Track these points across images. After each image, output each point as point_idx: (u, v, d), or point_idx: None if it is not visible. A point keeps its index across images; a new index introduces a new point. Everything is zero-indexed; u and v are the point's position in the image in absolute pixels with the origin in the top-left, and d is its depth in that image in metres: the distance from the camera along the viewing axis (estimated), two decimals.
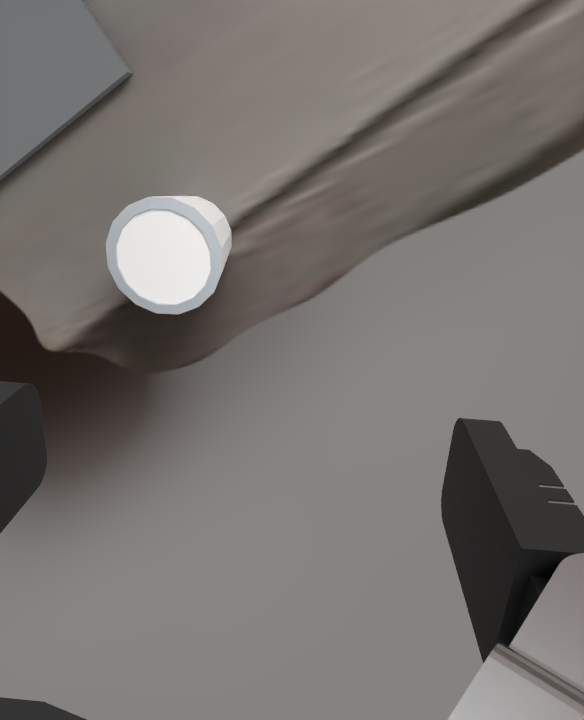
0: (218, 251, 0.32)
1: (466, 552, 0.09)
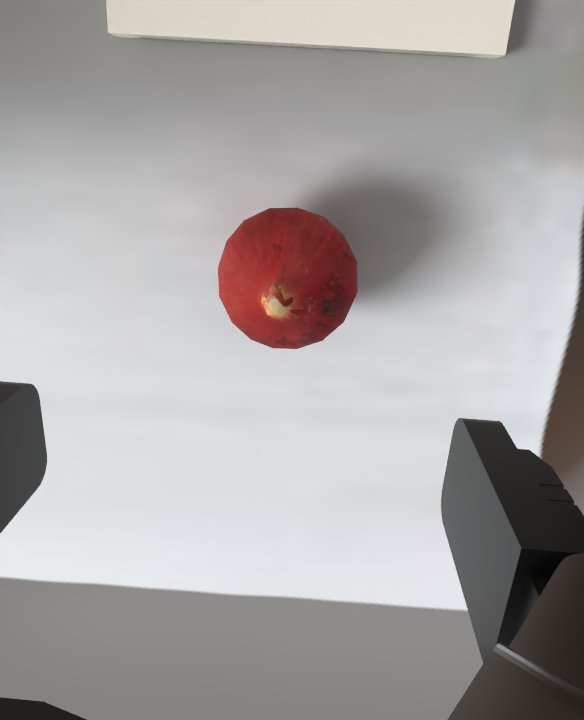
0: None
1: (466, 552, 0.09)
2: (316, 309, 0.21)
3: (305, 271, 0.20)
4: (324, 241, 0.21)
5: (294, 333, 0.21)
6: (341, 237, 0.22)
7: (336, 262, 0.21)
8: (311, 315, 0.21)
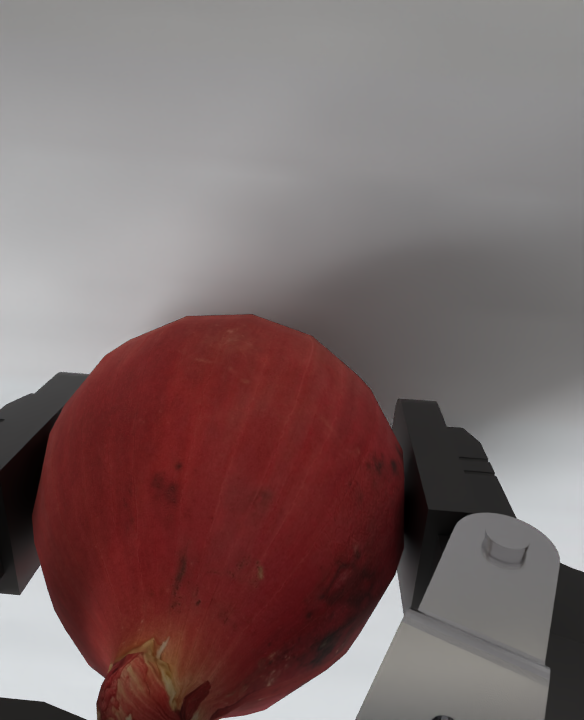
0: None
1: None
2: (295, 670, 0.07)
3: (255, 574, 0.06)
4: (318, 449, 0.07)
5: None
6: (366, 409, 0.08)
7: (353, 508, 0.07)
8: (278, 689, 0.07)
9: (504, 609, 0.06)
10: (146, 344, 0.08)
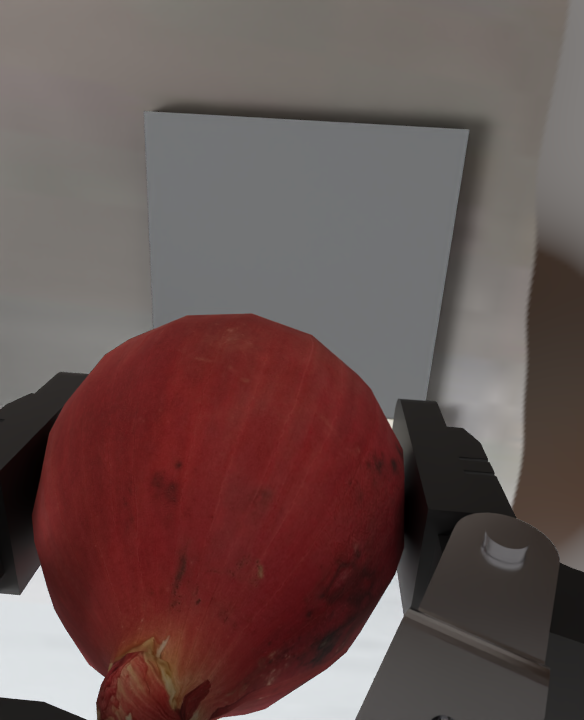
0: None
1: None
2: (295, 667, 0.07)
3: (255, 572, 0.06)
4: (318, 448, 0.07)
5: None
6: (366, 408, 0.08)
7: (354, 506, 0.07)
8: (279, 689, 0.07)
9: (504, 609, 0.06)
10: (146, 343, 0.08)
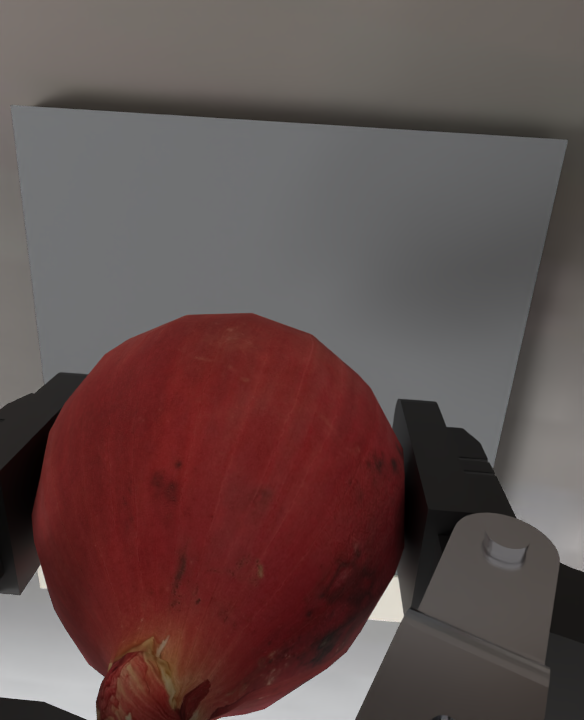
0: None
1: None
2: (295, 668, 0.07)
3: (256, 572, 0.06)
4: (318, 448, 0.07)
5: None
6: (366, 407, 0.08)
7: (354, 507, 0.07)
8: (279, 688, 0.07)
9: (503, 609, 0.06)
10: (146, 343, 0.08)
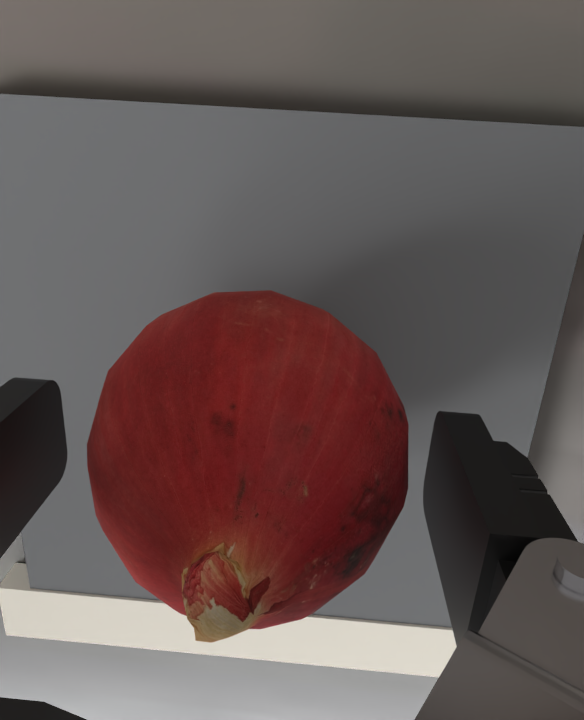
0: None
1: (443, 541, 0.09)
2: (331, 576, 0.08)
3: (302, 491, 0.07)
4: (344, 395, 0.08)
5: (271, 625, 0.08)
6: (376, 366, 0.09)
7: (373, 443, 0.08)
8: (318, 593, 0.08)
9: (573, 643, 0.05)
10: (187, 313, 0.09)
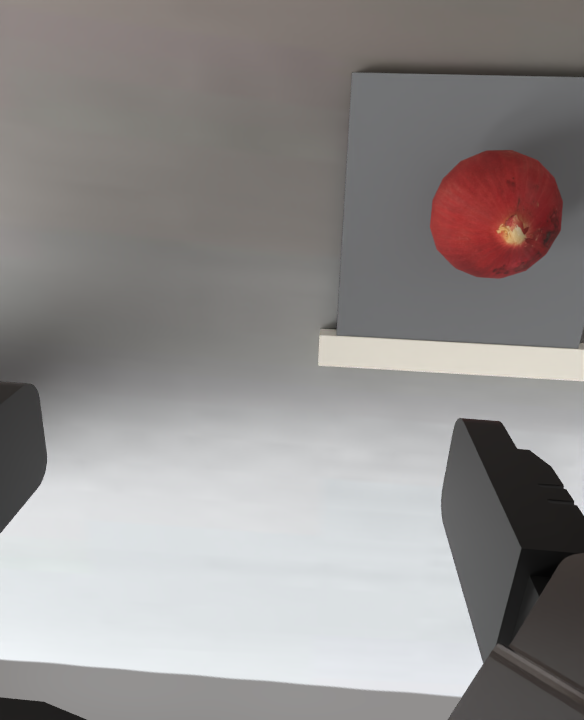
0: None
1: (466, 552, 0.09)
2: (541, 239, 0.24)
3: (536, 204, 0.23)
4: (547, 179, 0.24)
5: (516, 261, 0.24)
6: None
7: (555, 198, 0.24)
8: (536, 244, 0.24)
9: None
10: (482, 154, 0.25)
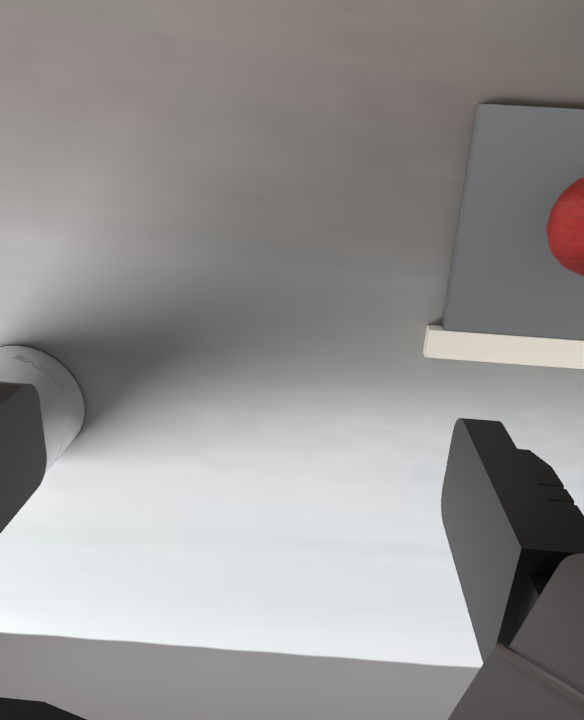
0: None
1: (466, 552, 0.09)
2: None
3: None
4: None
5: None
6: None
7: None
8: None
9: None
10: None
